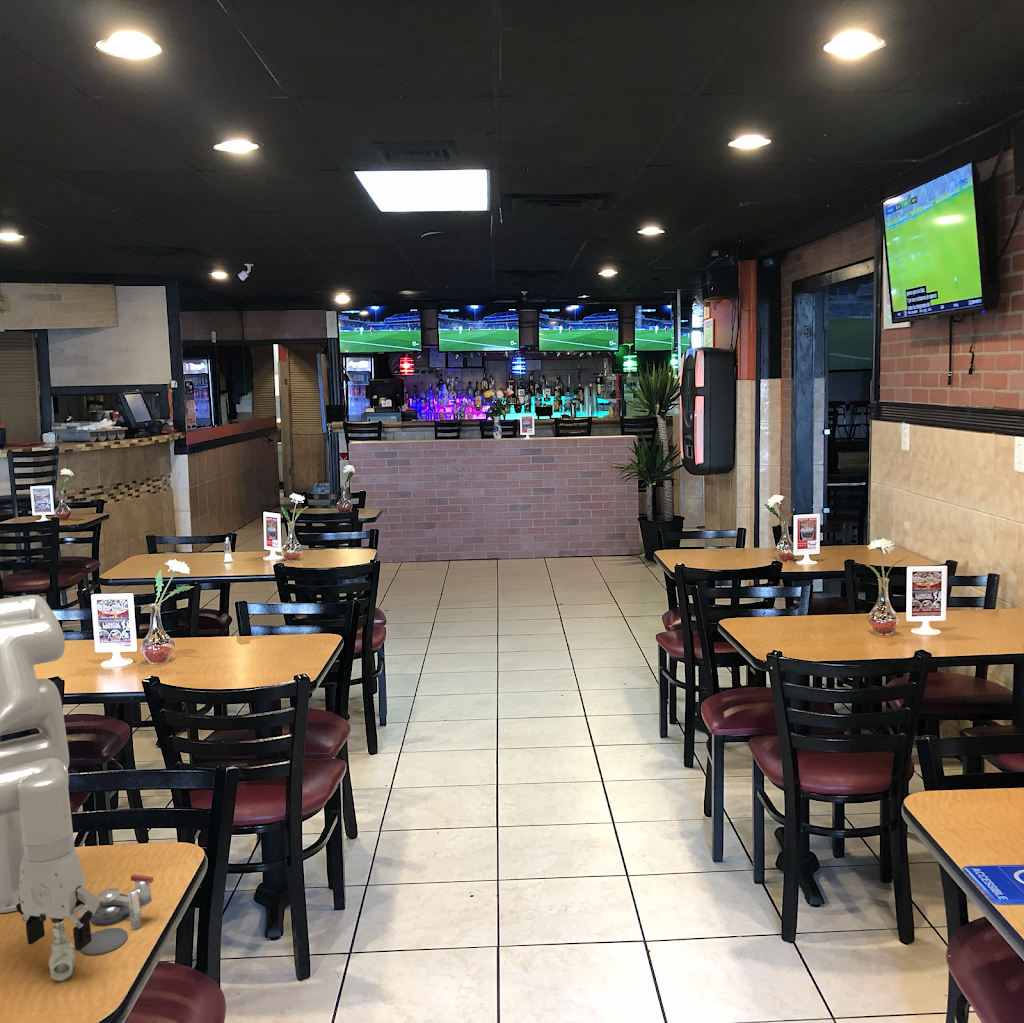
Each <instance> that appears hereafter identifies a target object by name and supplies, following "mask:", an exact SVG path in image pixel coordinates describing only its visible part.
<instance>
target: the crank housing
mask: <svg viewBox="0 0 1024 1023" xmlns="http://www.w3.org/2000/svg"><path fill="white" fill-rule="evenodd" d="M119 894H120V896H126V897H128V900H129V907H128V906H121V905H112V906H108V907H102V906H100V905H99V906H98V909H97V913H96V914H95V915H94V917H93V919H92V920H90V924H92V925H94V926H98V927H104V926H105V927H106V926H111V925H114V924H115V925H116V924H118V923H120V922H122V921H124V920H129V922H130V930H131V931H135V930H140V929H141V928H142V914H141V908H140V903H139V892H138V889H135V888H132V889H130V890H128V891H127V894H125V893H119Z"/></svg>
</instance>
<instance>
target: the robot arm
mask: <svg viewBox="0 0 1024 1023" xmlns="http://www.w3.org/2000/svg"><path fill="white" fill-rule="evenodd" d="M65 650H66V643H65V636H64V632H63V628H62V627H61V624H60V622H59V620H58V618H57V617H56V614H54V611H53V610H52V609H51V607H50V606H49V604H48V603H47V601H46V600H45V599H44V598H43V597H42V596H40V595H36V594H27V595H20V596H13V597H6V598H0V736H3V735H4V736H5V735H8V734H14V733H19V732H23V731H27V730H31V729H38V731H39V733H35V734H31V735H26V736H22V737H19V738H17V737H16V738H13V739H7V740H5V741H0V914H4V913H5V914H6V913H12V912H15V911H18V913H19V914H20V915H21V921H23V922H24V923H25V928H26V929H25V930H26V938H27V945H33V944H35V943H36V942H37V941H39V940H40V939H42V938H43V937H45V935H46V932H45V921H40V916H39V915H40V914H42V915H45V917H46V919H51V918H55V919H64V920H66V919H68V918H69V919H70V921H71V922H72V923H73V924H74V925H75V927H73V929H72V934H73V942H74V943H73V945H74V949H75V951H78V952H80V950H81V949H82V948H84V947H85V946H86V945H87V944H89V943H90V942H91V940H92V938H91V934H92V932H91V931H92V930H91V929H92V928H91V920H92V919H93V917H94V915H95V914H96V913H97V909H98V906H99V904H100V900H99V897H97V896H95V895H94V894H92V893H91V892H89V891H88V890H87V889H86V880H85V877H84V870H83V866H82V863H81V860H80V856H79V854H78V851H77V850H76V849H75V848H76V847H75V840H74V839H75V838H74V831H73V829H74V828H73V820H72V811H71V802H70V793H69V783H70V777H69V771H68V769H69V766H70V751H69V746H68V745H69V742H68V736H67V730H66V723H65V717H64V709H63V704H62V698H61V695H60V692H59V691H60V690H59V689H58V687H57V685H56V684H55V683H54V681H52V680H51V679H49V678H45V677H44V678H37V675H36V671H35V665H40V664H45V663H51V662H55V661H58V660H60V659H61V658H62V657H63V656H64V653H65ZM75 905H76V906H75ZM77 912H79V913H80V914H81V915H82V916H79V915H78V913H77Z"/></svg>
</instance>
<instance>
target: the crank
mask: <svg viewBox="0 0 1024 1023" xmlns="http://www.w3.org/2000/svg"><path fill="white" fill-rule="evenodd" d="M130 881H132V882H134V887H135V888H134V889H138V892H139V903H140V909H143V908H145V907H146V906H147V905H148V904H150V903H151V902H152V901H153V899H152V898H153V897H152V888H151V884H152V883H153V882H154V876H150V875H149V876H148V875H141V874H140V875H139V874H132V875H131V876H130ZM120 894H121V893H120V889H119V888H118V887H110V888H109V887H108V888H105V889H103V890H101V891H100V892H99V893H98V898H99V900H100V904H99V905H100V906H102V907H108V906H112V905H121V906H128V907H129V900H128V897H126V896H120Z"/></svg>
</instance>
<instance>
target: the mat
mask: <svg viewBox="0 0 1024 1023" xmlns="http://www.w3.org/2000/svg"><path fill="white" fill-rule="evenodd" d="M91 938H92V940H91V942H90V943H89V944H87V945H86V946H85V947H84V948H82V949H81V950H80V951H79V952H81V954H83V955H86V956H101V955H104V954H108V953H111V952H113V951H116V950H117V949H119V948H120V947H122V946H123V945H124V944H125V943H126V942H127V941H128V939H129V935H128V932H127V931H126V930H125V929H123V928H120V927H109V928H103V929H101V930H98V931H95V932H93V933H92V932H91Z"/></svg>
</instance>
